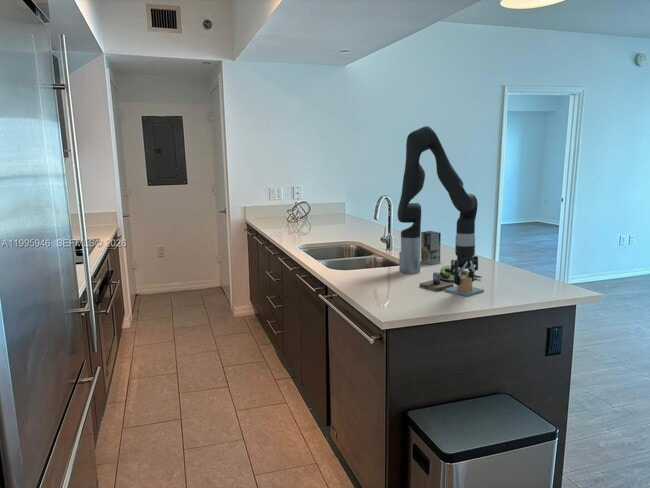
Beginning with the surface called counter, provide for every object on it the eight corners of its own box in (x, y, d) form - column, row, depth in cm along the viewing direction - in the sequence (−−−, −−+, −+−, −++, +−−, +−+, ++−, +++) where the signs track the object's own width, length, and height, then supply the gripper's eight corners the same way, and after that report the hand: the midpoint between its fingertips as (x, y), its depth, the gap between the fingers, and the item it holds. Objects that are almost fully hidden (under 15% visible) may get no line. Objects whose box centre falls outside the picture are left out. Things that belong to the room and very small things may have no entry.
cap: (465, 292, 189) (465, 280, 188) (454, 289, 194) (454, 277, 193) (474, 289, 192) (475, 278, 191) (464, 286, 197) (464, 275, 196)
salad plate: (485, 276, 218) (485, 267, 217) (476, 286, 203) (477, 275, 202) (443, 272, 227) (443, 263, 227) (432, 281, 212) (432, 271, 211)
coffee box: (440, 263, 246) (441, 232, 244) (430, 264, 244) (430, 233, 241) (430, 260, 255) (431, 230, 252) (420, 261, 252) (420, 231, 250)
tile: (444, 291, 195) (444, 288, 195) (461, 286, 201) (461, 284, 201) (466, 297, 186) (466, 294, 186) (483, 292, 192) (484, 289, 192)
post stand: (419, 286, 203) (419, 273, 202) (435, 282, 208) (435, 269, 207) (437, 291, 195) (437, 277, 193) (453, 287, 200) (453, 273, 199)
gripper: (461, 247, 183) (460, 288, 186) (484, 242, 191) (483, 281, 194) (445, 244, 189) (445, 284, 192) (468, 240, 197) (467, 278, 200)
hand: (464, 283), depth 193 cm, fingers open, 8 cm apart
